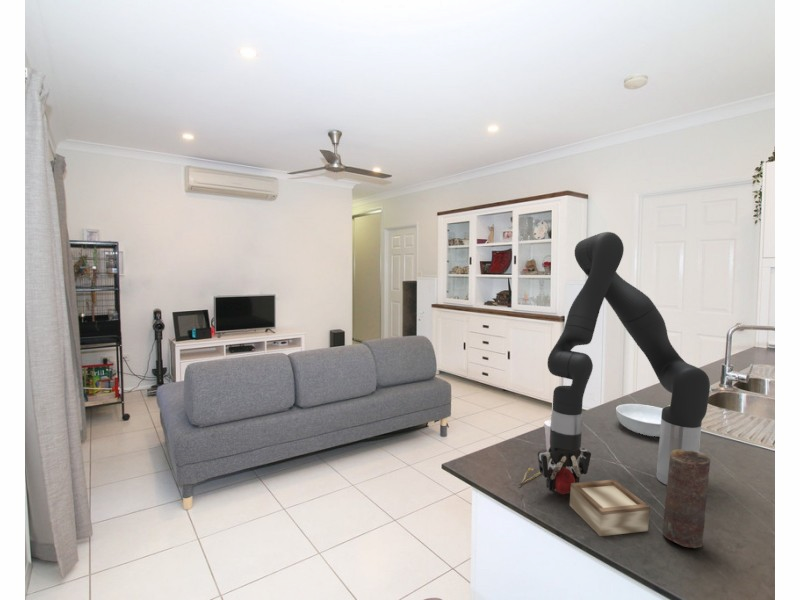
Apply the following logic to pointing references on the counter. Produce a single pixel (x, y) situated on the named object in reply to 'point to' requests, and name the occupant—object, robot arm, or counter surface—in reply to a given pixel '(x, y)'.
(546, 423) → the smoothie
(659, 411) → the serving bowl
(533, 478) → the tongs
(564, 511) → the counter surface
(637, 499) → the pedestal
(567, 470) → the pomegranate
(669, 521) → the rusty metal cylinder
